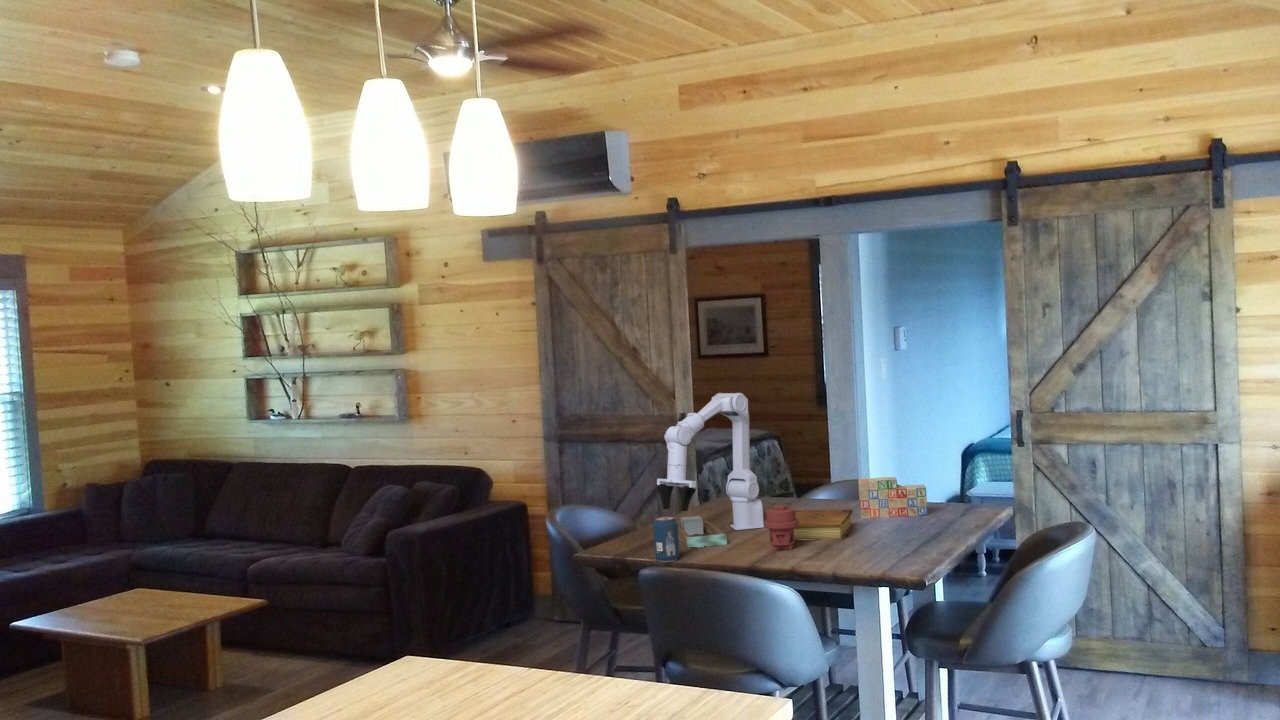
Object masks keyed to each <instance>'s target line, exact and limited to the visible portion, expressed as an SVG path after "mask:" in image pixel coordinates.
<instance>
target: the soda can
mask: <svg viewBox="0 0 1280 720" xmlns="http://www.w3.org/2000/svg"><path fill="white" fill-rule="evenodd" d="M677 525H678V522H677V520H676V517H675V516H670V515H669V516H658V517H656V518H654V521H653V525H652V528H653V542H654V556H655V558H656V559H657V560H656V561H658V562H660V563H668V562H669V563H670V562H675V560H676V561H678V559H679V557H680V544H679V543H680V542H679V541H680V540H679V539H678V526H679V525H678V526H677Z"/></svg>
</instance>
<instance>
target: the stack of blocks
mask: <svg viewBox="0 0 1280 720" xmlns="http://www.w3.org/2000/svg"><path fill="white" fill-rule="evenodd" d="M857 482H858V488H857V489H858V499H859V510H860V511H859V513H860V518H861V519H870V518H871V519H873V518H874V519H875V518H877V519H878V518H895V517H897V518H898V517H922V516H928V499H927V498H928V497H927V486H925V484H913V485H911V484H910V485H909V484H908V485H898V480H897V477H895V476H891V477H883V476H882V477H874V478H873V477H872V478H871V477H870V478H869V477H868V478H858V479H857Z"/></svg>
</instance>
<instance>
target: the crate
mask: <svg viewBox="0 0 1280 720" xmlns="http://www.w3.org/2000/svg"><path fill="white" fill-rule="evenodd" d="M679 518H680V519H679V520H680V527H681V528H682V529H683V530H684V531H685V532H686V533H687V534H688V535H690V536H695V535H694V534H699V535H704V530H703V521H704V518H702V517H701V516H700V515H695V516H692V515H691V516H683V517H679Z"/></svg>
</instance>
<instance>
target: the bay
mask: <svg viewBox="0 0 1280 720" xmlns="http://www.w3.org/2000/svg"><path fill="white" fill-rule="evenodd" d="M677 526H678V541H680V540H681V541H682V542H683V543H684V544H685V545H686V546H687V547H688V548H687V547H686V546H685V545H684V544H683V543H682V542H681V541H680V542H681V543H682V544H683V545H684V546H685V547H686V548H687V549H691V548H690V547H697V548H705V547H704V546H707V547H714V545H715V546H716V545H717V546H726V545H728V539H727V538H728V537H727V535H728V534H726V532H724V531H722V530H721V528H719V527H718V526H716V525H714V524H713V523H712V522H711V521H709V520H708V519H706V520H705V519H703V531H704V532H705V533H707V534H708V535H696V536H692V535H688V534H687V533H686V532H685V531H684V530H683V529H682V528H681V525H678V524H677Z"/></svg>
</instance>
